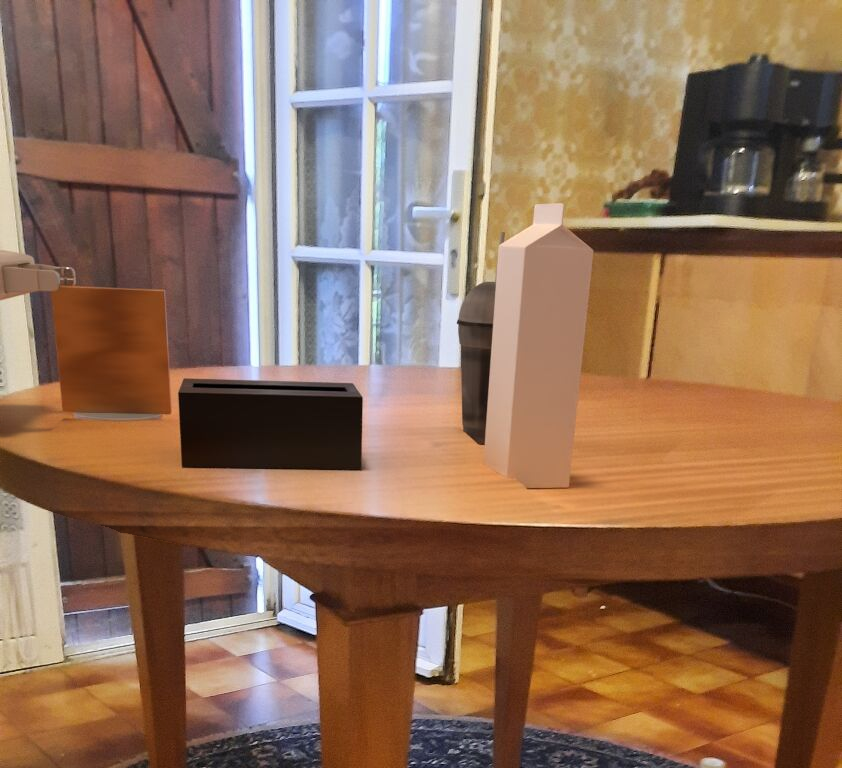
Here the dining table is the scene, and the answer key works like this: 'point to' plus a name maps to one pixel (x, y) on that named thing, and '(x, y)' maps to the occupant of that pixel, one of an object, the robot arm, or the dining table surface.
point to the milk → (537, 351)
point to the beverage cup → (476, 355)
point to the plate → (117, 416)
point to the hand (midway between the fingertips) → (67, 279)
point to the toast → (112, 350)
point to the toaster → (270, 425)
